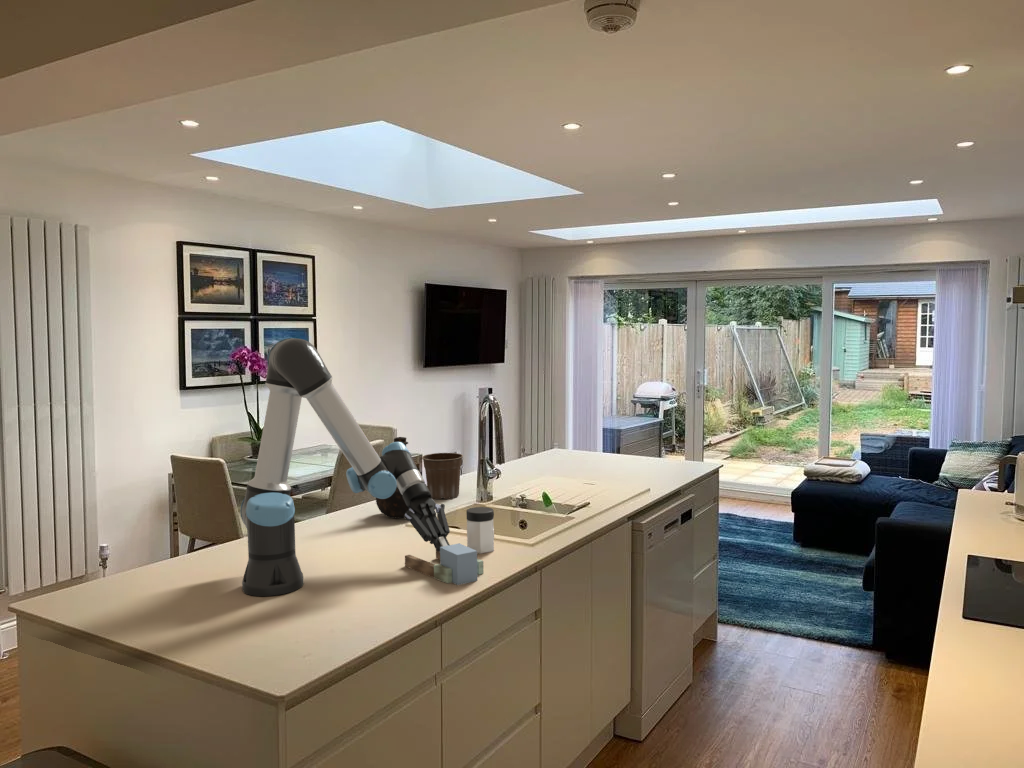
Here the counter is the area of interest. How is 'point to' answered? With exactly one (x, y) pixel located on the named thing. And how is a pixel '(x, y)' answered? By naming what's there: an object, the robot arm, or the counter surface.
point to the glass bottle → (394, 498)
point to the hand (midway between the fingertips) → (449, 559)
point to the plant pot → (443, 474)
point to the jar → (480, 529)
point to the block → (460, 562)
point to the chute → (435, 568)
